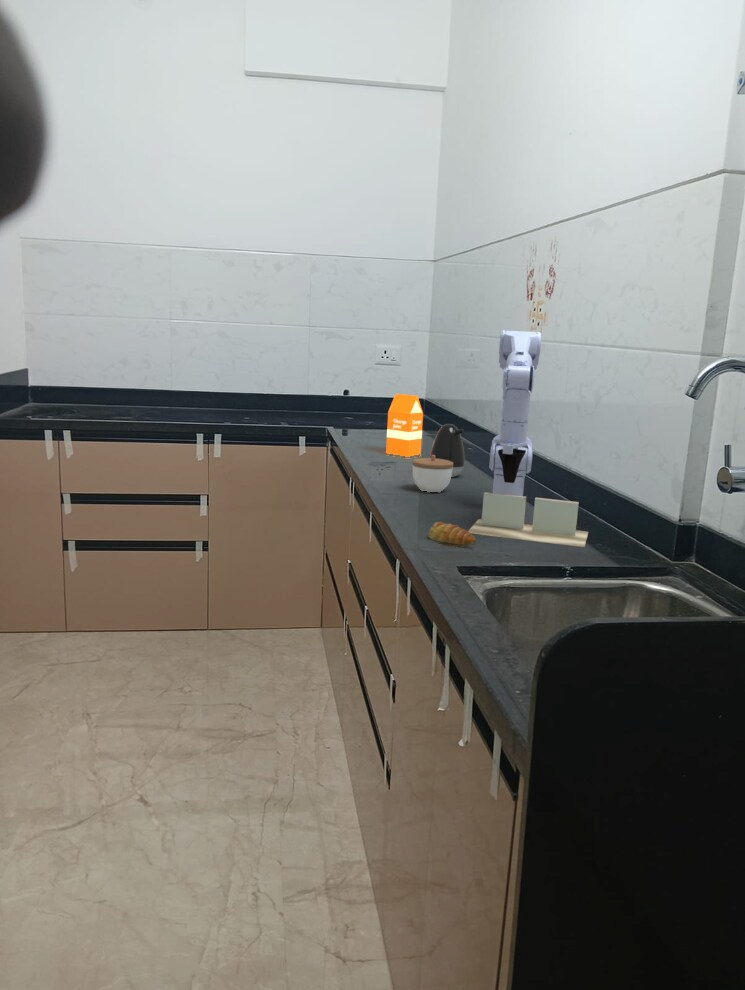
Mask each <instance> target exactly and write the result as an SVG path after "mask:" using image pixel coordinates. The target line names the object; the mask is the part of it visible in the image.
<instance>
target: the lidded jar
mask: <svg viewBox="0 0 745 990" xmlns="http://www.w3.org/2000/svg"><path fill="white" fill-rule="evenodd" d="M411 462H412V463H411V464H412V469H411V470H412V479H413V482H414V483H415V485H416V487H418V489H420V490H421V491H420V490H419V491H420V492H423V491H427V492H426V493H430V492H438V493H442V492H443V491H444V490H445V489H446V488H448V485H449V484H450V482H451V479H452V478H451V476H452V470H453V462H451V461H448V460H444V459H436V458H435V455H431V458H430V457H421V458H418V457H417V458H414V459H412V461H411ZM441 491H442V492H441Z"/></svg>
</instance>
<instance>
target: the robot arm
mask: <svg viewBox="0 0 745 990" xmlns="http://www.w3.org/2000/svg"><path fill="white" fill-rule="evenodd" d="M541 347H542V333H541V332H540V331H537V332H536V331H522V330H521V331H519V330H518V331H516V330H506V329H503V330H502V331H500V336H499V349H498V350H499V351H498V354H499V355H498V356H499V357H498V364H499V368H500V369H502V371H503V375H502V385H501V386H502V387H501V388H502V400H503V401H502V410H501V411H502V413H501V421H500V422H501V424H500V433H498V434H497V435H495V437H493V439H492V440H491V446H490V454H489V465H488V466H489V469H490V471H493V485H492V493H499V494H508V495H517V496H524V489H525V488H524V487H525V477H526V474H530V472H531V471H532V465H533V464H532V462H533V442H532V439H530V438H529V437H528V436H527V435H528V425H529V413H530V403H531V394H532V392H533V389H534V382H535V371H536V370H537V366H538V365H539V359H540V355H541ZM526 508H527V506H526V507H525V509H526Z"/></svg>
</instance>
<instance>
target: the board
mask: <svg viewBox="0 0 745 990" xmlns="http://www.w3.org/2000/svg"><path fill="white" fill-rule="evenodd" d="M481 522H482V518H478V519H476V521H475V522H474V523H473V525H472V526H471V527H470V528H469V530H467V531H468V532H470V533H471V534H472V535H473V534H474V535H480V536H481V535H482V536H488V537H499V538H504V539H514V540H521V541H529V542H538V543H546V544H552V545H553V544H555V545H562V546H570V547H578V548H579V547H580V548H585V547H586V542H587V539H588V537H589V536H588V535H589V531H586V530H585V531H584V530H579V529H578V530H577V529H576V534H575V536H573V535H565V534H556V533H548V532H540V531H532V526H533V524H526V523H524V528H523V529H515V528H506V527H498V526H489V525H481Z"/></svg>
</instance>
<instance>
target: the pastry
mask: <svg viewBox="0 0 745 990" xmlns="http://www.w3.org/2000/svg"><path fill="white" fill-rule="evenodd" d="M468 531H469V530H466V529H465V528H462V527H460V526H459V525H457V524H452V523H444V522H442V521H437V522H434V523H433V525H431V527H430V529H429V532H428V536H427V537H428V539H430V540H432V541H434V542H438V544H439V545H442V546H448V547H453V546H454V547H455V548H469V547H470V546H473V545H474V544H475V542H476V538H475V535H473V534H471V533H470V532H468Z"/></svg>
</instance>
